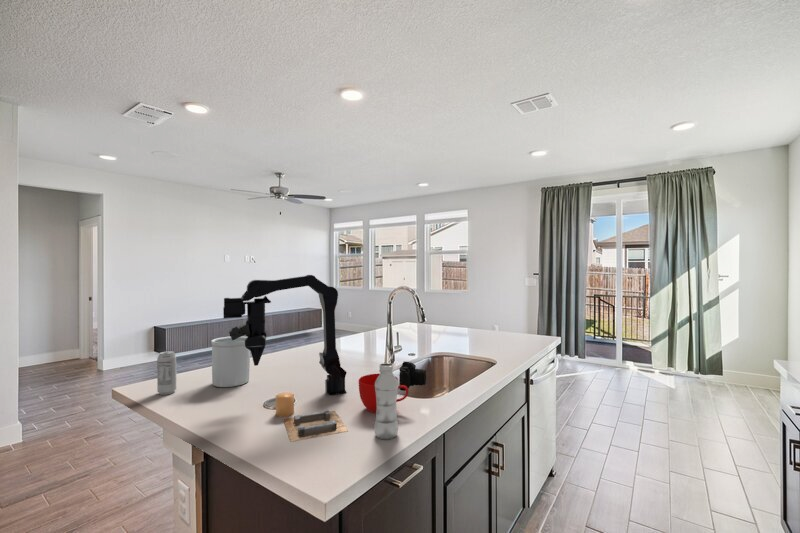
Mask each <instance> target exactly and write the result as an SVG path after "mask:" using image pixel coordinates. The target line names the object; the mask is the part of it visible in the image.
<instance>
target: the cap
mask: <svg viewBox="0 0 800 533" xmlns="http://www.w3.org/2000/svg"><path fill="white" fill-rule="evenodd" d="M294 414H295V393H292V392H281V393H278V394H276V395H275V416H276V417H279V418H280V417H281V418H288V417H290V416H292V415H294Z"/></svg>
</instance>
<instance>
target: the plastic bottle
mask: <svg viewBox="0 0 800 533" xmlns="http://www.w3.org/2000/svg"><path fill="white" fill-rule="evenodd" d="M378 371H379V372H378V373H379V374H380V375H379V376H378V377H377V379H376V381H375V392H376V403H377V411H376V413H375V414H376V415H375V422H374V425H373V430H374V434H375V436H376V437H377V438H378V439H380V438H381V439H380V440H391V439H390V438H392V439H394V438H395V437H397V435H398V433H399V420H398V417H397V416H398V415H397V402H396V401H397V399H398V398H397V397H398V391H399V389H398V386H399V379H398V380H397V379H396V377H397V376H396V377H395V375H394V364H393V363H390V362H386V363H385V362H384V363H380V364H379V370H378ZM393 437H394V438H393Z"/></svg>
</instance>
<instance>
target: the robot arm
mask: <svg viewBox="0 0 800 533" xmlns="http://www.w3.org/2000/svg"><path fill="white" fill-rule="evenodd" d="M303 287H309V288H310V289H312V290H313V291H314V292H315V293H317V294H318V297H319V303H320V305H321V309H322V321H323V322H322V323H323V324H322V325H323V343H324V344H323V350H322V352H318V355H319V364H320V365H321V367H322V370H324V371H325V372H326V374H328V375H326V379H325V380H324V381H325V382H324V384H325V387H324V388H325V391H326V393H327V394H328V395H329V396H336V395H342V394H347V390H346V376H347V371H346V370H345V369H344V367H341V360H340V356H339V353H338V351H337V350H338V349H337V343H336V342H337V341H336V338H337V337H336V313H335V312H336V306H338V298H339V292H338V289H336V288H335V287H334V286H329V285H327V283H324V282H323V281H321V280H319V279H318V278H317V277H316V276H315V275H313V274H307V275H302V276H301V275H300V276H295V277H288V278H282V279H281V278H280V279H272V280H271V279H253V280H251V281H249V282H248V283H247V285H246V291H245V292H244V293H243V294H242V296H241V297H233V298H231V297H224V298H223V314H222V315H223V319H239V318H243V316H244V315H246V314H247V316H246V317H247V319H246V321H245V324H242V325H238V326H237V325H236V326H235V327H231V329H229V331H228V333H229V337H231V338H232V340H235V339H237V338H239V337H241V336H244V337H247V338H246V339H245V347H246V348H247V349H249V350H250V355H251V358H252V361H253V365H254V366H255V367H256V366H259V363H260V361H261V358H262V355H263V353H264V351H265V348H266V345H267V344H266V342H267V334H268V333H267V332H268V331H267V329H266V304H271V303H272V301H271V300H270V299H269V298H268V297H267V295H269V294H271V293H274V292H275V293H276V292H278V291H285V290H289V289H297V288H303ZM250 300H253V301H250ZM246 308H247V309H246ZM246 310H247V311H246ZM246 312H247V313H246Z"/></svg>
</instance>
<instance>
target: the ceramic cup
mask: <svg viewBox="0 0 800 533" xmlns="http://www.w3.org/2000/svg"><path fill="white" fill-rule="evenodd" d="M379 375H380V373H371V374H366V375H363V376H361V377H360V378H359V379H358V391H359V397H360V400H361V402H362V405H363V406H364V407H365V408H366V409H367V410H368V412H371V413H374V414H376V411H377V403H376V392H375V381H376V379H377V377H378V376H379ZM394 376H395V375H394ZM395 377H396V379H397V380H398V381H399V378H398V377H397V376H395ZM399 388H404V389H405V390H406V391H405V395H404V396H402V397H401V398H397V401H396V403H398V402H402V401H404V400H405V399H406V398H407V397H408V395H409V389H408V388H407V387H406V386H405V385H400V386H399V385H398V390H400V389H399Z"/></svg>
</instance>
